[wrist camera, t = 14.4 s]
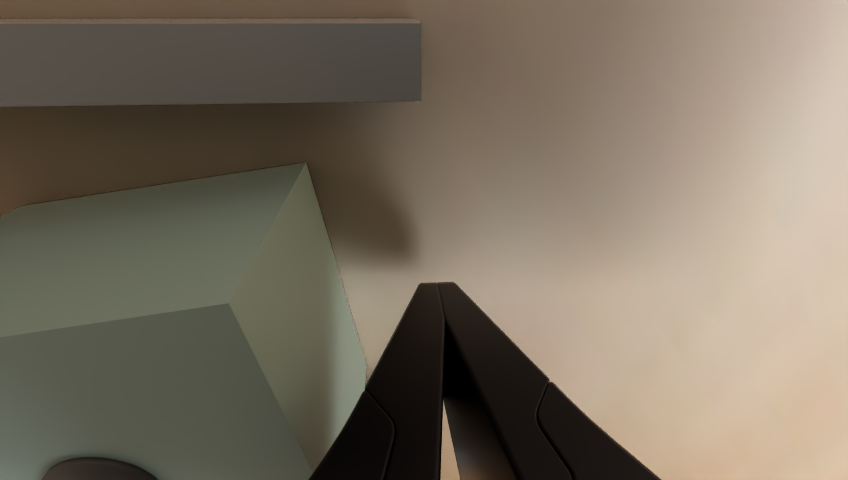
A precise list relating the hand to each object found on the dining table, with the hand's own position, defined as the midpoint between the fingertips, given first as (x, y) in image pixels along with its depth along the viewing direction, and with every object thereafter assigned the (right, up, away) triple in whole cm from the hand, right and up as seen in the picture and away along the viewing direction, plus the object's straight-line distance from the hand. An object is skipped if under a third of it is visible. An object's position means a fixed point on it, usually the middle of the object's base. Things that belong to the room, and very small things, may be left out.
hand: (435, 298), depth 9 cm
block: (-5, 0, +1) cm, 5 cm away
